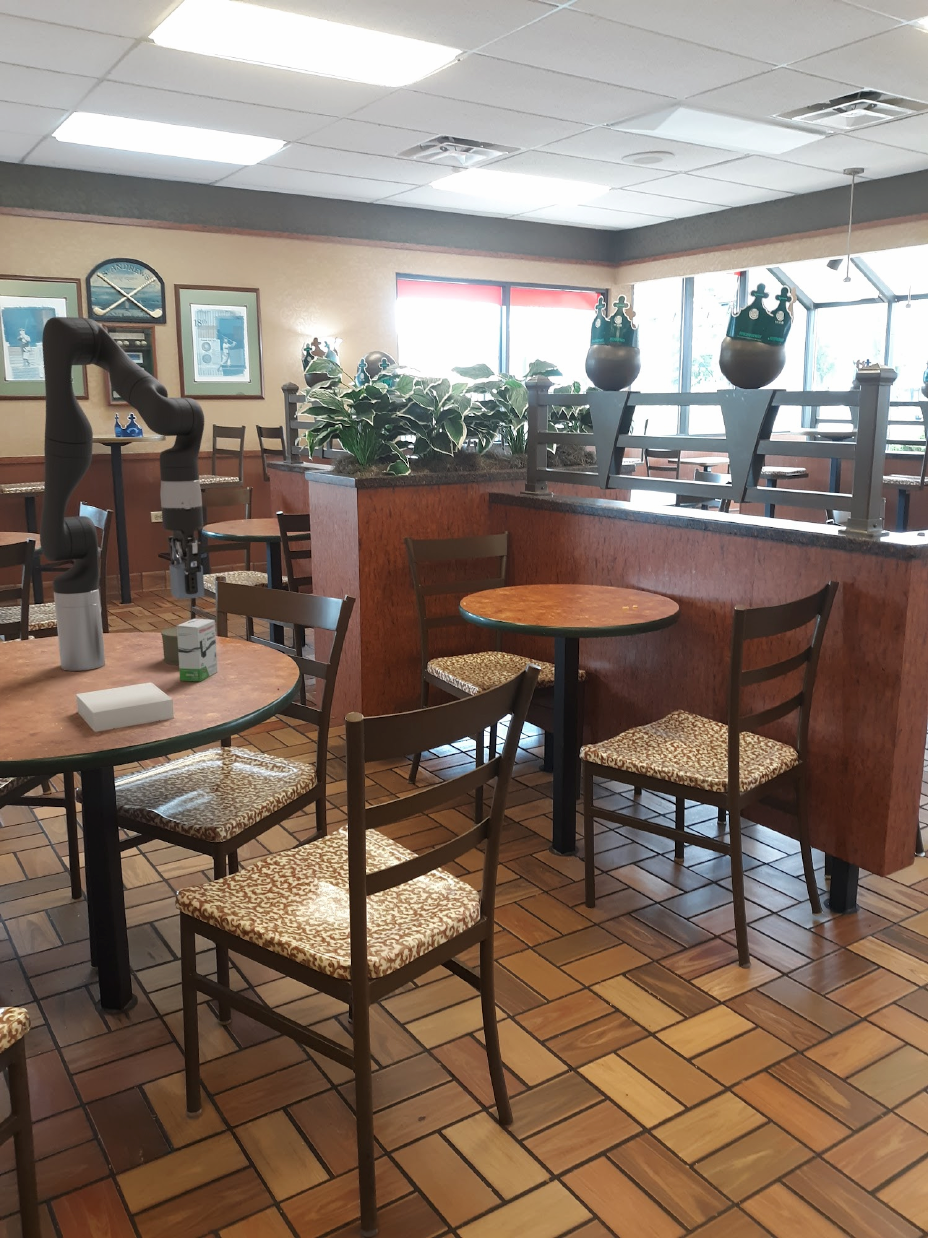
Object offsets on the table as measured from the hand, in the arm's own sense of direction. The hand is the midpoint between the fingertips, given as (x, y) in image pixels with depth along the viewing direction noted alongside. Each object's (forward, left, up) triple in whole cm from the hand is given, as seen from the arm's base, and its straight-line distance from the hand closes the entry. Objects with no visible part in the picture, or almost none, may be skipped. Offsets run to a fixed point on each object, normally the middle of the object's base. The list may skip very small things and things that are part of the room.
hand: (187, 591), depth 189 cm
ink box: (-13, +5, -21) cm, 25 cm away
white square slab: (+6, -15, -21) cm, 27 cm away
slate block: (0, 0, -1) cm, 1 cm away
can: (-29, +8, -21) cm, 37 cm away
